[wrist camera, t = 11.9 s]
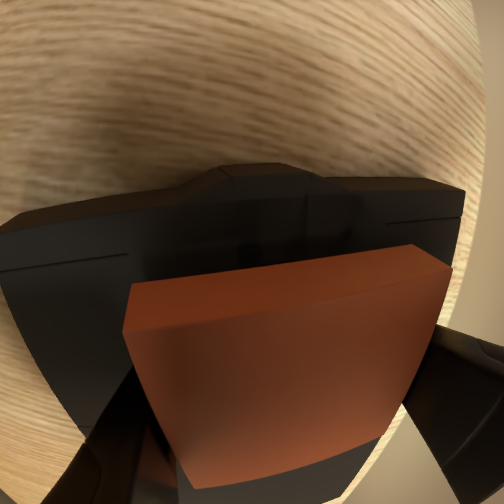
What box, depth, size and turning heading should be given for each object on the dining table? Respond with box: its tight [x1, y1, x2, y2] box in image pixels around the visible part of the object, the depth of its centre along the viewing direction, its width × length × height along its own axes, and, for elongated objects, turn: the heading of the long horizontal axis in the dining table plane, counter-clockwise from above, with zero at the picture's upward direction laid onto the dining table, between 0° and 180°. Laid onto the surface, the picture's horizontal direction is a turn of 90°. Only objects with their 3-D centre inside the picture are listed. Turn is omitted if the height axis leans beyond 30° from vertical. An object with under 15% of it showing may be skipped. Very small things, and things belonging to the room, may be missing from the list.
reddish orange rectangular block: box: [122, 244, 453, 489], centre depth 7 cm, size 6×6×4 cm
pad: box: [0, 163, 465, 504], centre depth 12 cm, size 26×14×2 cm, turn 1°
